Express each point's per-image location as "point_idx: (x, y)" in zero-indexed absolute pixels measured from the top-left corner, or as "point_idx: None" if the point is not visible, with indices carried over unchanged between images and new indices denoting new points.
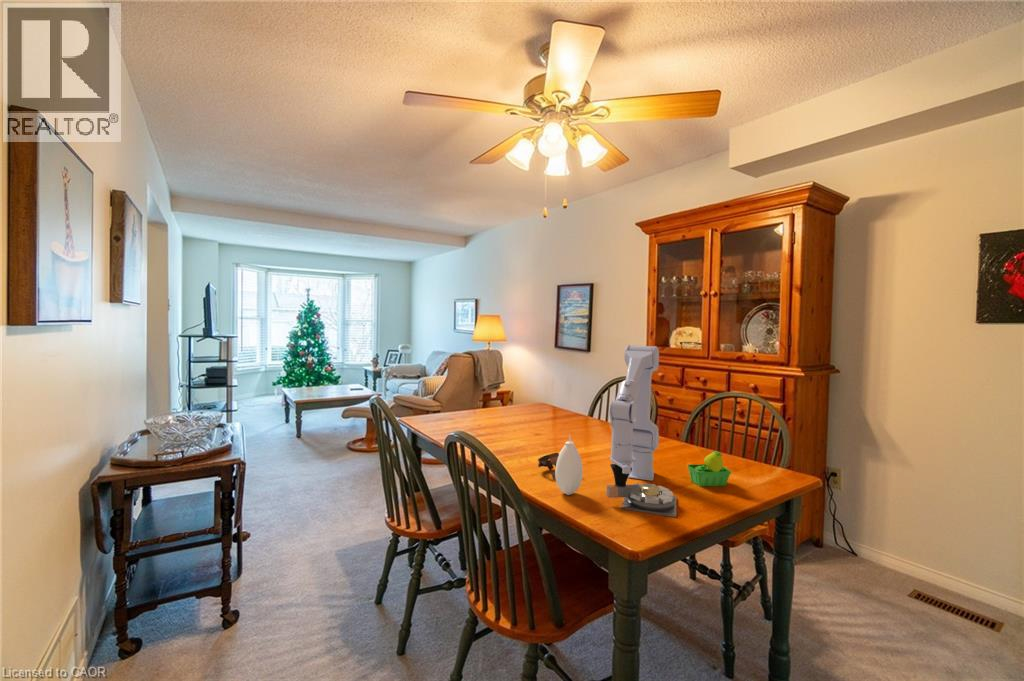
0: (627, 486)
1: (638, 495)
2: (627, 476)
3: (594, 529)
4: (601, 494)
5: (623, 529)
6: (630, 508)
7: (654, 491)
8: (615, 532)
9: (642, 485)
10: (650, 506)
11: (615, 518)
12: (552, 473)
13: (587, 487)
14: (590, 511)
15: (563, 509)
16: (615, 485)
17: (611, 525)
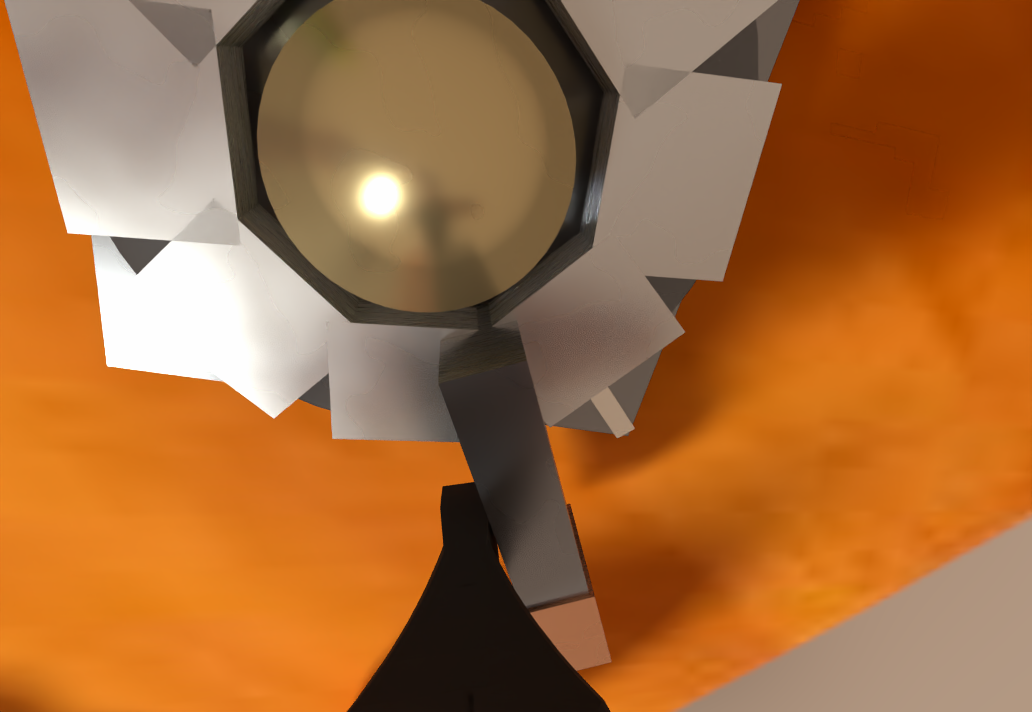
0: (549, 509)
1: (623, 347)
2: (537, 627)
3: (934, 570)
4: (325, 555)
5: (977, 428)
6: (653, 368)
7: (567, 118)
8: (1003, 473)
9: (363, 293)
10: None
11: (798, 469)
12: None
13: (199, 642)
14: (678, 600)
15: (654, 707)
16: (554, 619)
17: (902, 493)
